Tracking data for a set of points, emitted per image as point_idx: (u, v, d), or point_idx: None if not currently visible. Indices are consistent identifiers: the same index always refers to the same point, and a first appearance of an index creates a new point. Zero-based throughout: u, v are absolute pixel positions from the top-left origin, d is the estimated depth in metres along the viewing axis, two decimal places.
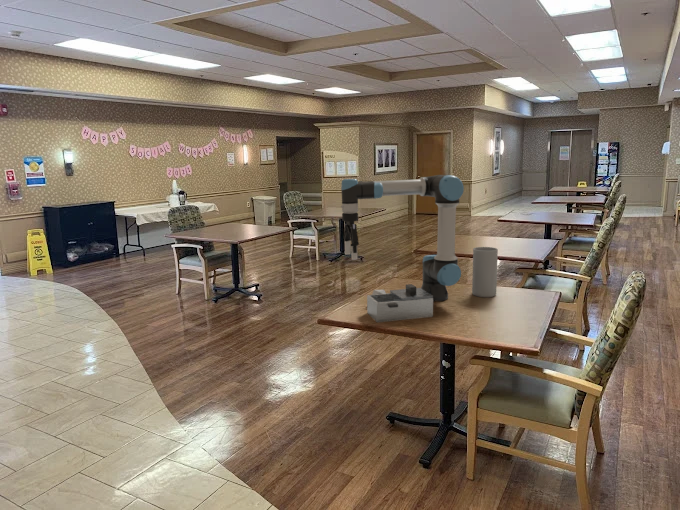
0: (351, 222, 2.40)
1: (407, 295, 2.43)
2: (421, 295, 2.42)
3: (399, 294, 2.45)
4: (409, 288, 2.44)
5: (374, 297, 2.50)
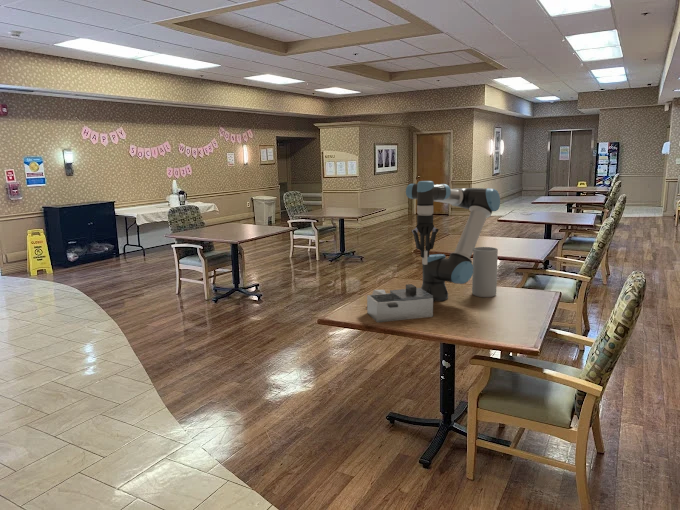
0: (417, 223, 2.42)
1: (407, 295, 2.43)
2: (421, 295, 2.42)
3: (399, 294, 2.45)
4: (409, 288, 2.44)
5: (374, 297, 2.50)
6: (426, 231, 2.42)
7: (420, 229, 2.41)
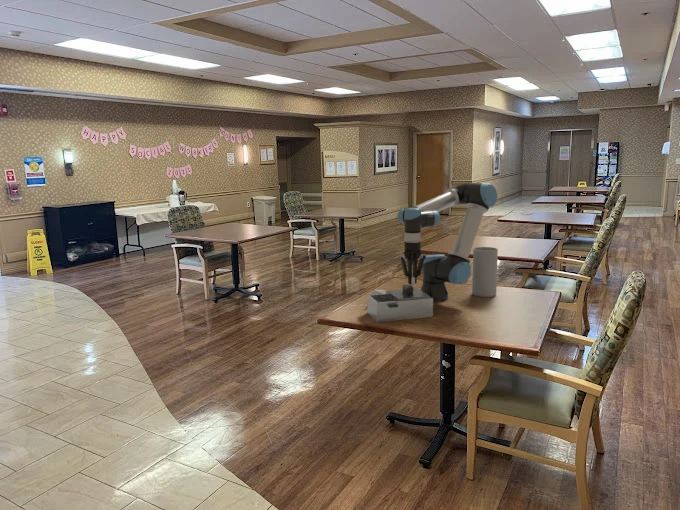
0: None
1: (404, 295, 2.43)
2: (418, 295, 2.42)
3: (396, 294, 2.44)
4: (406, 288, 2.44)
5: (374, 297, 2.50)
6: (413, 258, 2.43)
7: (407, 256, 2.42)
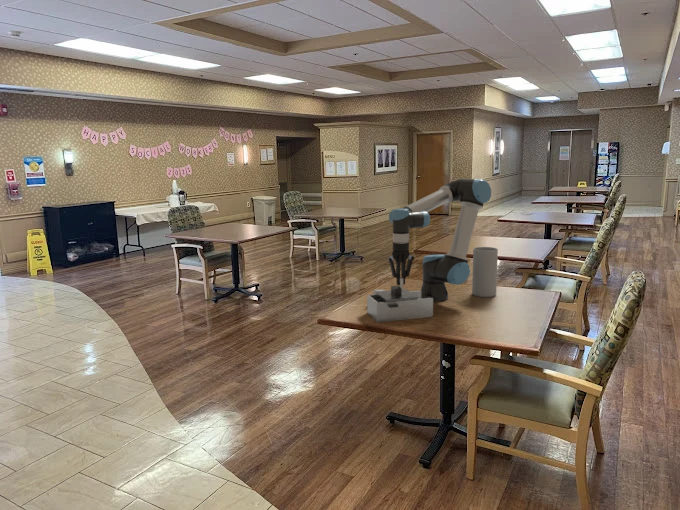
0: (393, 251, 2.41)
1: (392, 296, 2.42)
2: (406, 296, 2.40)
3: (384, 295, 2.43)
4: (394, 289, 2.43)
5: (374, 297, 2.50)
6: (402, 259, 2.42)
7: (396, 257, 2.41)
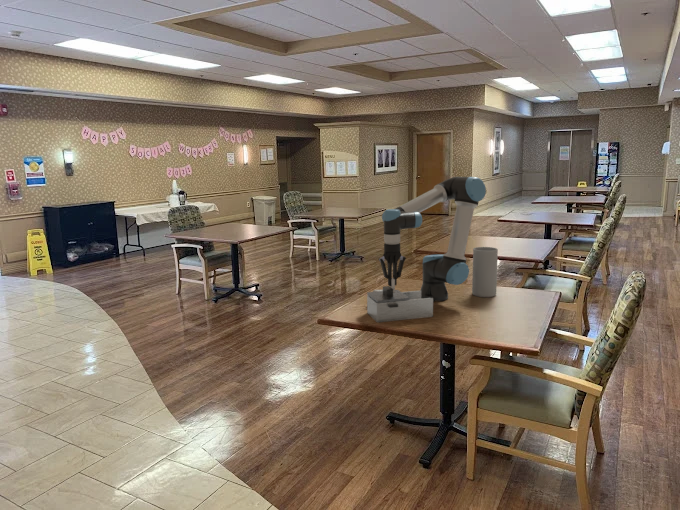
0: (384, 252, 2.41)
1: (383, 297, 2.41)
2: (398, 297, 2.39)
3: (376, 296, 2.42)
4: (386, 290, 2.42)
5: None
6: (393, 260, 2.41)
7: (387, 258, 2.40)
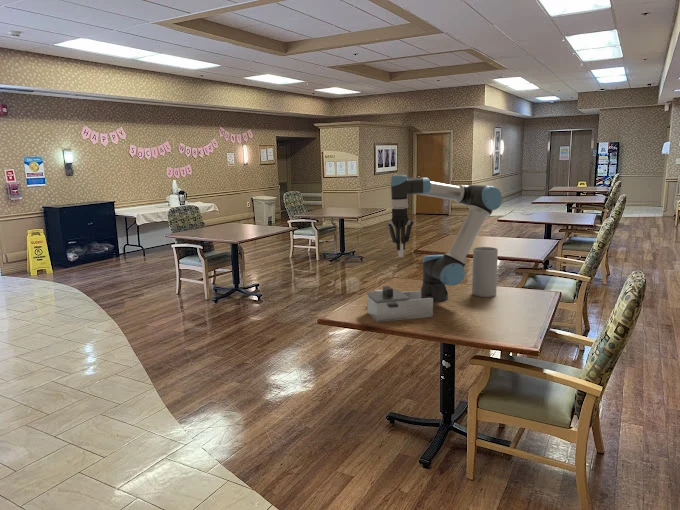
0: (392, 217, 2.46)
1: (383, 297, 2.41)
2: (398, 297, 2.39)
3: (376, 296, 2.42)
4: (386, 290, 2.42)
5: None
6: (401, 224, 2.46)
7: (395, 222, 2.45)
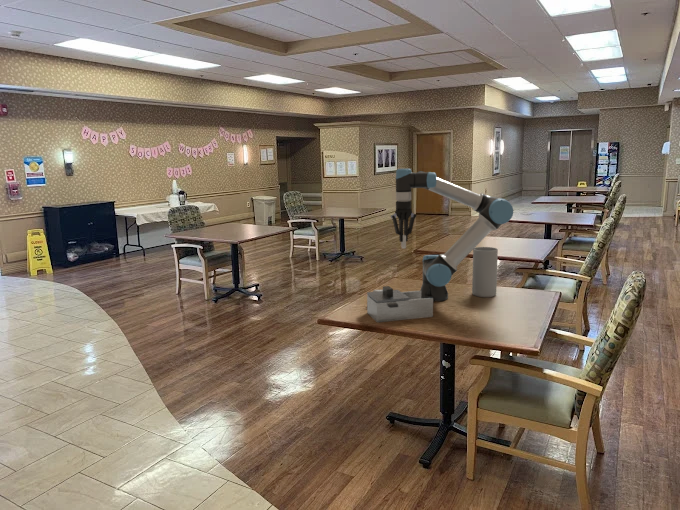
0: (396, 209, 2.54)
1: (383, 297, 2.41)
2: (398, 297, 2.39)
3: (376, 296, 2.42)
4: (386, 290, 2.42)
5: None
6: (404, 216, 2.54)
7: (399, 214, 2.54)
